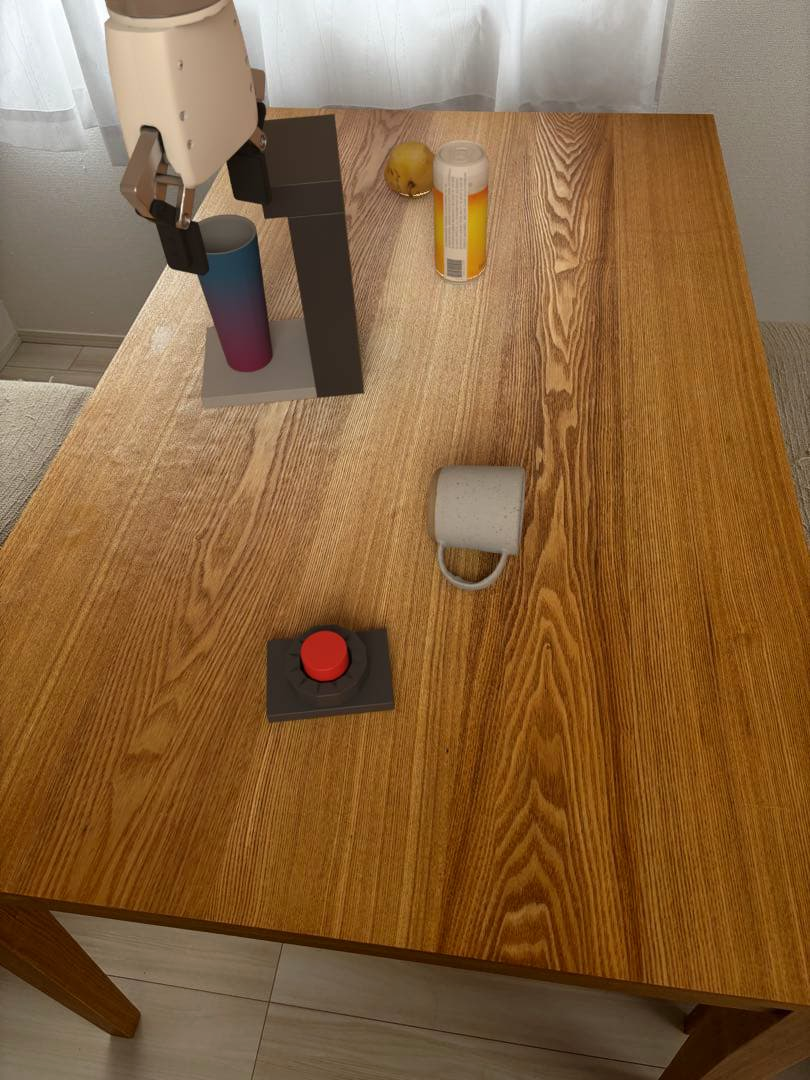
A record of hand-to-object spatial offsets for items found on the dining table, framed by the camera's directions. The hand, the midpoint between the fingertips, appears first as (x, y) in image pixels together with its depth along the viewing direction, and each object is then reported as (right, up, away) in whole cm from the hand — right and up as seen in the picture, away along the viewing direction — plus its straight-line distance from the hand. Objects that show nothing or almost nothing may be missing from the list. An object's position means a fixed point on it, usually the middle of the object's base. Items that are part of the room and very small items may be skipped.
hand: (222, 234), depth 65 cm
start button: (+7, -33, +4) cm, 34 cm away
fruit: (+15, +24, +52) cm, 59 cm away
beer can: (+20, +9, +40) cm, 46 cm away
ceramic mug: (+20, -24, +14) cm, 34 cm away
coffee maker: (0, -4, +31) cm, 31 cm away
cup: (-3, -3, +29) cm, 30 cm away
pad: (+8, -34, +6) cm, 36 cm away
